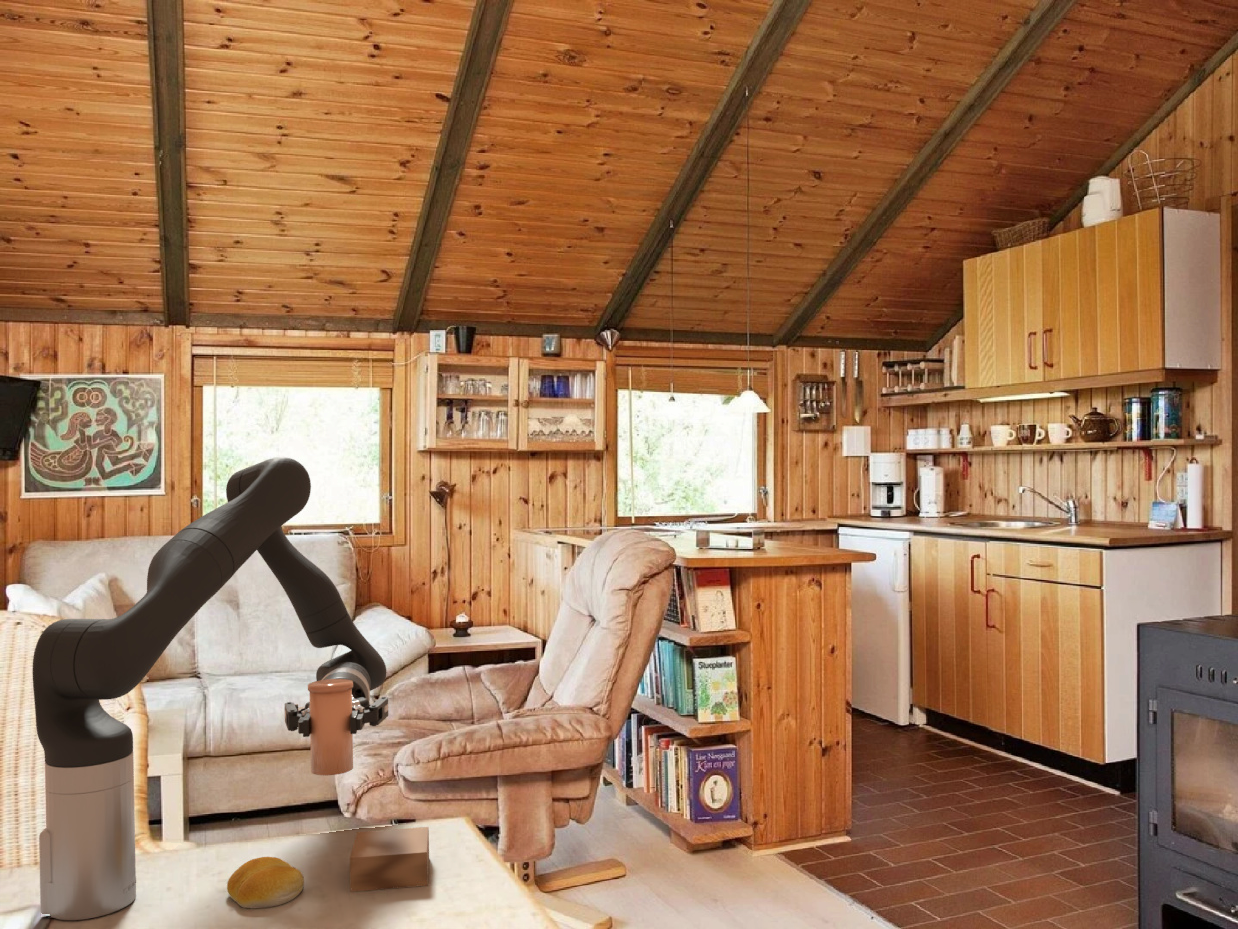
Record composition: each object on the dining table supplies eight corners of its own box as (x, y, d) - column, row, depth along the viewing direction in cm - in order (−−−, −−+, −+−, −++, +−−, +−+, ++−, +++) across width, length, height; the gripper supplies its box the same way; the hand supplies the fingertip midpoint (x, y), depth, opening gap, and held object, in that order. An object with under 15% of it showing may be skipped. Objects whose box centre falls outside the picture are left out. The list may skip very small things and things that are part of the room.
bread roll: (248, 918, 118) (247, 882, 118) (219, 894, 124) (218, 861, 124) (317, 897, 123) (316, 863, 123) (285, 875, 130) (285, 843, 130)
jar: (306, 777, 130) (305, 689, 130) (312, 764, 136) (310, 680, 136) (352, 774, 131) (351, 686, 131) (356, 761, 137) (354, 677, 137)
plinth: (350, 892, 124) (349, 858, 124) (357, 863, 133) (356, 832, 133) (427, 885, 125) (426, 852, 125) (429, 858, 134) (428, 827, 134)
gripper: (288, 674, 146) (269, 701, 130) (393, 668, 149) (387, 694, 132) (289, 727, 146) (270, 761, 130) (394, 721, 149) (388, 753, 132)
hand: (329, 727), depth 131 cm, fingers closed on jar, 5 cm apart
